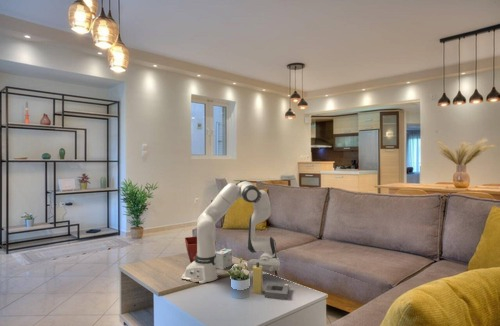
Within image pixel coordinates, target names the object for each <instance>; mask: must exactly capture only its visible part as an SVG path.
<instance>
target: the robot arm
mask: <svg viewBox="0 0 500 326" xmlns="http://www.w3.org/2000/svg"><path fill="white" fill-rule="evenodd" d="M238 199H242V200H244V201H245V202H248V203H252V207H253V213H252V214H250V216H249V220H248V222H249V223H248V236H247V245H246V246H247V250H248V251H249V252H250V253H252V254H253V253H262V254H261V255H260V257H259V258H257V259H256V258H251V259H249V260H248V261H247V263H246V267H247V266H248V267H249V268H248V267H247V268H248V269H252V270H253V267H254V265H256V262H259V266H262V271H268V272H272V271H275V272H276V271H280V270H281V262H280V258H279V257H277V256H276V251H277V245H276V244H277V243H276V240H275V238H274V237H272V236H256V226H257V225H258V224H259V223H262V222H265V221H267V220H268V219H269V218H270V216H271V214H272V207H271V201H270V197H269V194H268V192H267V191H266V190H262V189H260V190H259V188H258V187H257V186H255V184H254V183H252V182H250V181H249V180H240V181H239V182H237V183H233V182H228V183H227V184H226V185H225V186H224V187H223V188H222V189H221V190H220V191H219V192H218V194H217V195H216V196H215V197H214V199H213V200H212V201H211V202H210V204H209V205H207V207H206V208H205V209H204V211H203V212H201V214H200V215H199V216H198V218H197V221H196V236H197V254H196V255H195V257H194V259H195V261H193V262H192V263H191V262H190V263H189V264H188V265H187V266H186V268H185V271H184V273H183V274H182V275H181V278H183V279H191V278H194V279H199V280H201V281H199V283H198V284H206V283H207V282H213V281H215V280H218V278H219V275H218V271H217V268H216V245H215V241H216V224H217V223H218V221H220V219H221V218H222V217H224V216H225V214H226V213H227V212H228V211H229V209H230V208H231V207H232V206H233V205H234V203H235V202H236V201H237V200H238ZM217 276H218V277H217Z"/></svg>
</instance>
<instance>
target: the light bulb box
mask: <svg viewBox="0 0 500 326" xmlns="http://www.w3.org/2000/svg"><path fill="white" fill-rule="evenodd" d="M215 254H216V267H217V268H216V269H218V268H221V269H220V270H222V269H224V268H225V269H227V268H230V267H231V266H233V249H230V248H225V247H224V248H222V249H221V250H218V251H215ZM226 267H227V268H226ZM225 269H224V270H225Z"/></svg>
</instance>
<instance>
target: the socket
mask: <svg viewBox="0 0 500 326" xmlns="http://www.w3.org/2000/svg"><path fill="white" fill-rule="evenodd" d="M289 292H290V284H289V283H288V284H287V283H285V284H284V283H278V282H276V283H274V282H267V285H266V287H265V289H264V298H267V299H268V298H269V299H277V300H286V301H287V300H288V298H289Z"/></svg>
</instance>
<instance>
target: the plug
mask: <svg viewBox="0 0 500 326" xmlns="http://www.w3.org/2000/svg"><path fill="white" fill-rule="evenodd" d="M252 291H253V292H252V293H254V294H262V292H263V269H262V266H259V262H256V265H254V267H253V269H252Z"/></svg>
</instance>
